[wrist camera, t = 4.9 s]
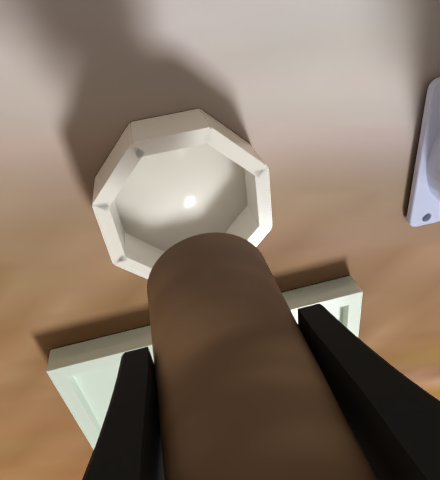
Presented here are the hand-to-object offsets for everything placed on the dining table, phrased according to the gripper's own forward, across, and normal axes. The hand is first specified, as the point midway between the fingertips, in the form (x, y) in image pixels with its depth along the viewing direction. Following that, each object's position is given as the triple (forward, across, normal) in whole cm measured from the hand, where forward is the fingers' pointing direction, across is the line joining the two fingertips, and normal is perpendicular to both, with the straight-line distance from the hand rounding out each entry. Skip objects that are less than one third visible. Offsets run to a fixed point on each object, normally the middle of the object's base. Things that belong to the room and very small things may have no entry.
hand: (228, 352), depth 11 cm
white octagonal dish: (+10, 0, 0) cm, 10 cm away
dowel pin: (+3, 0, 0) cm, 3 cm away
